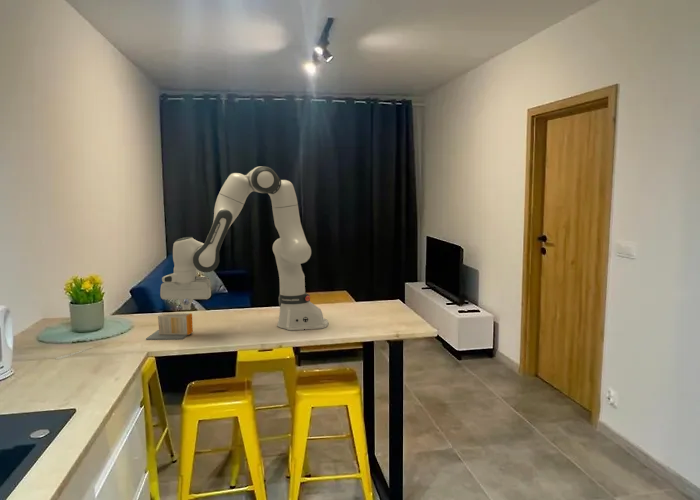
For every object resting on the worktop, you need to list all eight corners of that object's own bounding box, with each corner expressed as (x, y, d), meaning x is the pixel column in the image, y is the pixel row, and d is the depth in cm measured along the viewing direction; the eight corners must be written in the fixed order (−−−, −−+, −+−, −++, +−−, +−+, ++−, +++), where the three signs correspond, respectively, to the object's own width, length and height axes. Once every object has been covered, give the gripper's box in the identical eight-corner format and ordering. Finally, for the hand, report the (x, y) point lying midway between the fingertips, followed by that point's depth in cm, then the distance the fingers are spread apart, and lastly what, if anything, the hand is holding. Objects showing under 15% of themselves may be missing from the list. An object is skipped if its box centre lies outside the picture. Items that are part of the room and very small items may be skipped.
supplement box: (192, 313, 217) (162, 312, 218) (188, 316, 212) (157, 315, 213) (193, 332, 218) (163, 331, 219) (189, 335, 213) (158, 334, 214)
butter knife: (53, 358, 188) (57, 359, 186) (112, 341, 208) (116, 341, 207) (53, 359, 188) (57, 360, 186) (112, 342, 208) (116, 343, 207)
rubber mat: (192, 330, 222) (192, 329, 222) (182, 339, 209) (182, 338, 209) (158, 331, 222) (158, 329, 222) (145, 339, 209) (145, 338, 209)
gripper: (212, 275, 215) (213, 307, 217) (163, 275, 216) (165, 307, 217) (208, 277, 209) (209, 311, 211) (157, 278, 209) (159, 311, 211)
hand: (186, 309), depth 214 cm, fingers closed
